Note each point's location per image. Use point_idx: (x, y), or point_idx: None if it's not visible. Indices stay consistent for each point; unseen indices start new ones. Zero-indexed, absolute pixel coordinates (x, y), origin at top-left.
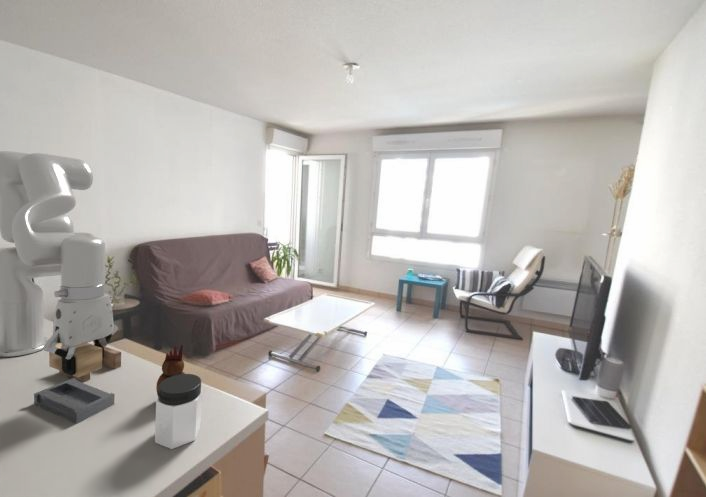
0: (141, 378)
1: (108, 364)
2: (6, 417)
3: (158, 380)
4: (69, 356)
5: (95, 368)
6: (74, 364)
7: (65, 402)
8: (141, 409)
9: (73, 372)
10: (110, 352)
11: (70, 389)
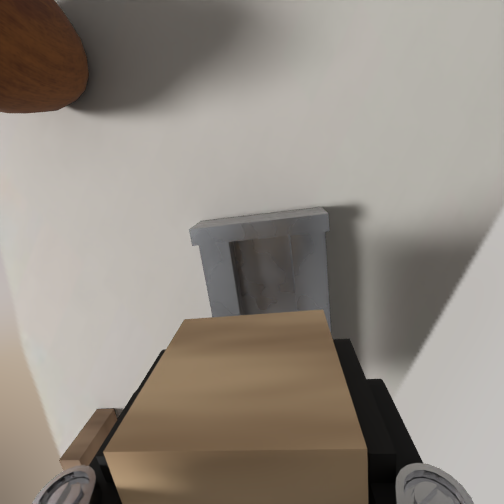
0: (78, 300)
1: None
2: (400, 386)
3: (9, 53)
4: (431, 500)
5: (219, 324)
6: (356, 393)
7: (315, 307)
8: (156, 108)
9: (348, 347)
10: None
11: None
